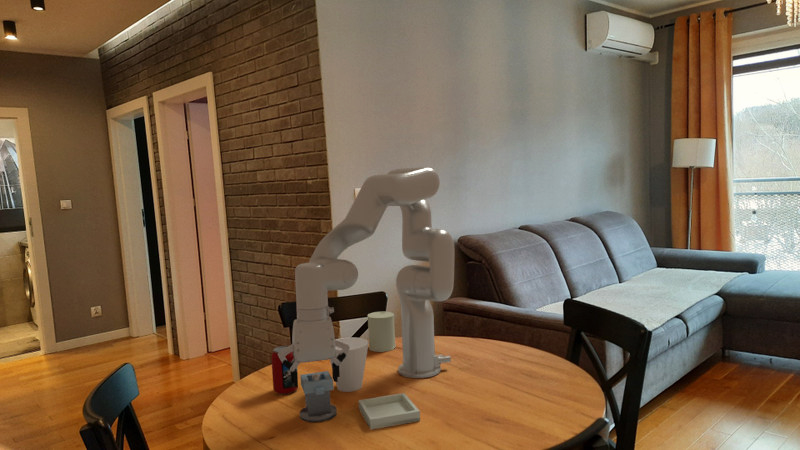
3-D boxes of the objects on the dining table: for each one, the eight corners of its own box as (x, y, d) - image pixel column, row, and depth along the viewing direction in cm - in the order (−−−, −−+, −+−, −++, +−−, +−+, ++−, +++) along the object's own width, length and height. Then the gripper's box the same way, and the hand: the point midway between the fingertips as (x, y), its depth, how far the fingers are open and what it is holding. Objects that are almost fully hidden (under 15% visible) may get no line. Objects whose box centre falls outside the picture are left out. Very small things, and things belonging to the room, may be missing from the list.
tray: (404, 402, 142) (404, 392, 142) (420, 420, 130) (419, 410, 130) (359, 409, 138) (358, 400, 138) (370, 429, 127) (370, 419, 127)
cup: (377, 381, 157) (375, 338, 156) (360, 397, 146) (358, 351, 145) (339, 377, 161) (337, 336, 160) (320, 393, 150) (318, 348, 149)
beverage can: (292, 396, 149) (290, 352, 148) (269, 395, 150) (266, 352, 149) (302, 387, 155) (299, 345, 154) (279, 386, 157) (277, 344, 156)
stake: (333, 404, 142) (331, 366, 141) (340, 418, 133) (337, 378, 133) (297, 410, 139) (295, 371, 138) (302, 425, 131) (300, 384, 130)
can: (398, 344, 192) (397, 310, 191) (392, 352, 183) (390, 316, 182) (373, 343, 194) (371, 309, 193) (365, 351, 185) (363, 316, 184)
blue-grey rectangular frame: (328, 380, 140) (328, 370, 140) (334, 392, 132) (334, 382, 132) (300, 384, 138) (300, 374, 138) (305, 396, 130) (304, 386, 130)
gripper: (344, 307, 140) (347, 373, 141) (274, 314, 135) (278, 382, 136) (350, 313, 133) (353, 383, 134) (277, 321, 128) (281, 393, 129)
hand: (315, 382), depth 135 cm, fingers open, 9 cm apart
